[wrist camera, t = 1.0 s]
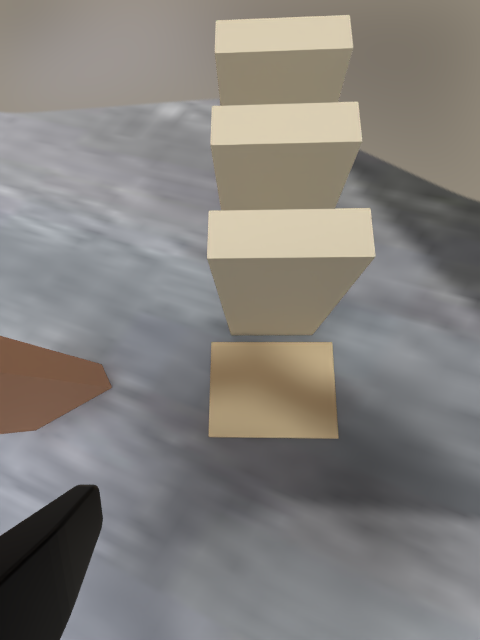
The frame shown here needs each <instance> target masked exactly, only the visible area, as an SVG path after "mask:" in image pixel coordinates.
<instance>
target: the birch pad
mask: <svg viewBox="0 0 480 640" xmlns="http://www.w3.org/2000/svg"><path fill="white" fill-rule="evenodd" d="M209 437H252V438H337V439H338V424H337V409H336V394H335V378H334V363H333V348H332V342H211V375H210V408H209Z"/></svg>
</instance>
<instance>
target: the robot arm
mask: <svg viewBox="0 0 480 640" xmlns="http://www.w3.org/2000/svg"><path fill="white" fill-rule="evenodd" d="M102 522H103V515H102V507H101V499H100V492H99V488H98V487H97V486H96V485H77V486H75V487H73V488H72V489H70V490H69V491H67V492H66V493H64V494H63V495H61V496H60V497H58V498H57V499H55V500H54V501H52V502H51V503H49V504H48V505H46V506H45V507H43V508H42V509H40V510H39V511H37V512H36V513H34V514H33V515H31V516H30V517H28V518H27V519H25V520H24V521H22V522H21V523H19V524H18V525H16V526H15V527H13V528H12V529H10V530H8V531H7V532H5V533H4V534H2V535H1V536H0V640H60V638H61V636H62V634H63V632H64V629H65V627H66V625H67V622H68V620H69V618H70V615H71V613H72V610H73V607H74V605H75V602H76V599H77V597H78V594H79V591H80V588H81V585H82V582H83V579H84V577H85V574H86V571H87V568H88V565H89V562H90V560H91V557H92V554H93V551H94V548H95V545H96V542H97V540H98V537H99V534H100V531H101V528H102Z"/></svg>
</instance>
